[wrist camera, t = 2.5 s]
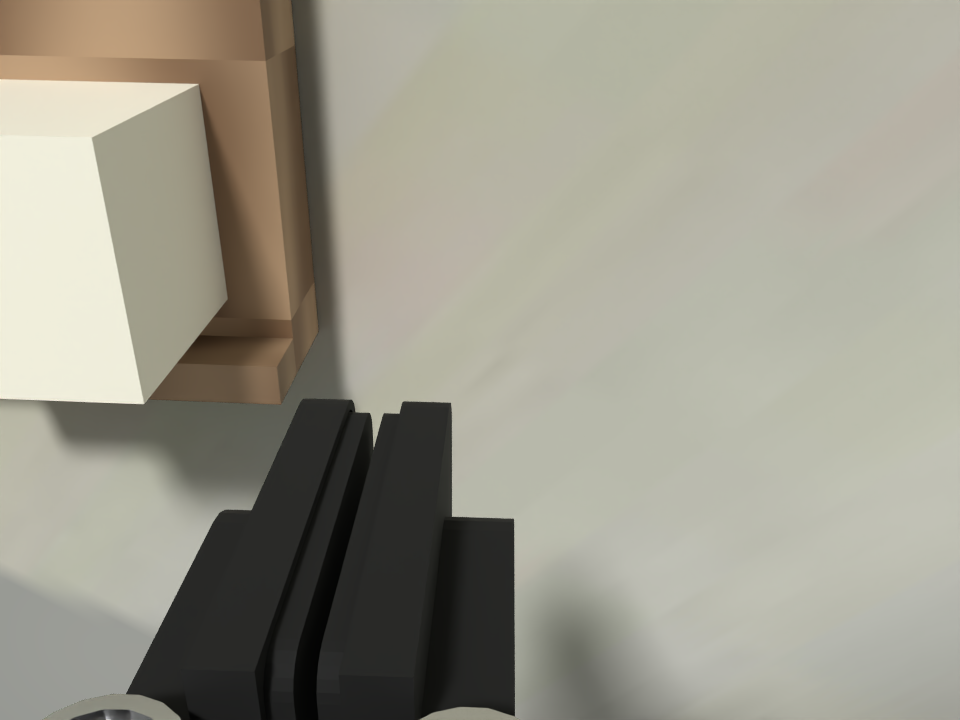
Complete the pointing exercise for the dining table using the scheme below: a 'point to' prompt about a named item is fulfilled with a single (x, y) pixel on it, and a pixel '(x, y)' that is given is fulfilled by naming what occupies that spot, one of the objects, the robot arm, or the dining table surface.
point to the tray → (232, 156)
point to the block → (103, 237)
